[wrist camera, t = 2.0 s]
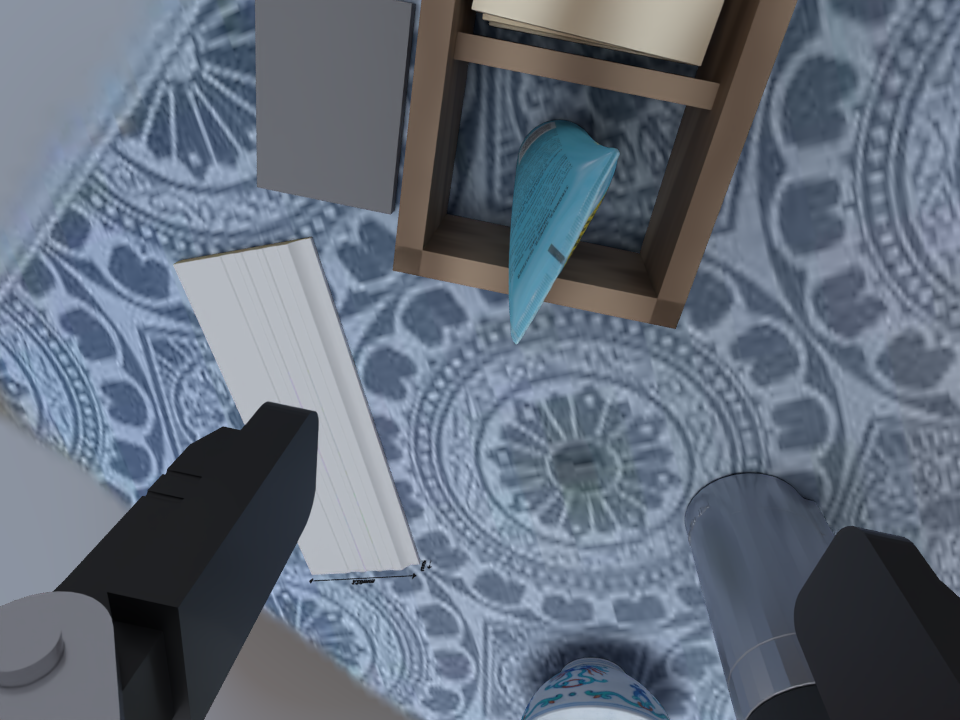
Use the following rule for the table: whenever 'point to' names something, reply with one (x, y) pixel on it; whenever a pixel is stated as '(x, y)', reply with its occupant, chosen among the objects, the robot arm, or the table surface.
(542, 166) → the tube
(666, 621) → the table surface
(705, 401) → the table surface
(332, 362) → the baseboard molding
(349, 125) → the mat
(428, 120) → the open wooden box
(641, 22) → the offcut top
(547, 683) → the chinaware
